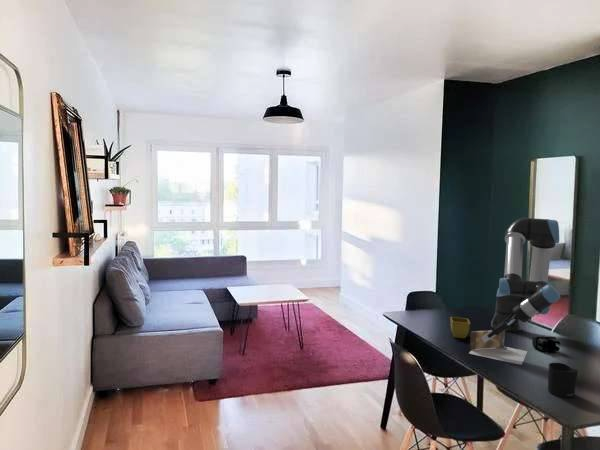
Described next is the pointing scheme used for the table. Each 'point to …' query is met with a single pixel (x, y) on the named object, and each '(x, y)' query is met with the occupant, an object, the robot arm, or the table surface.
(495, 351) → the base
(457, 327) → the flower pot
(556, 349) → the end cap
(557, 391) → the pen holder
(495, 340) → the gate
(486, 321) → the table surface
